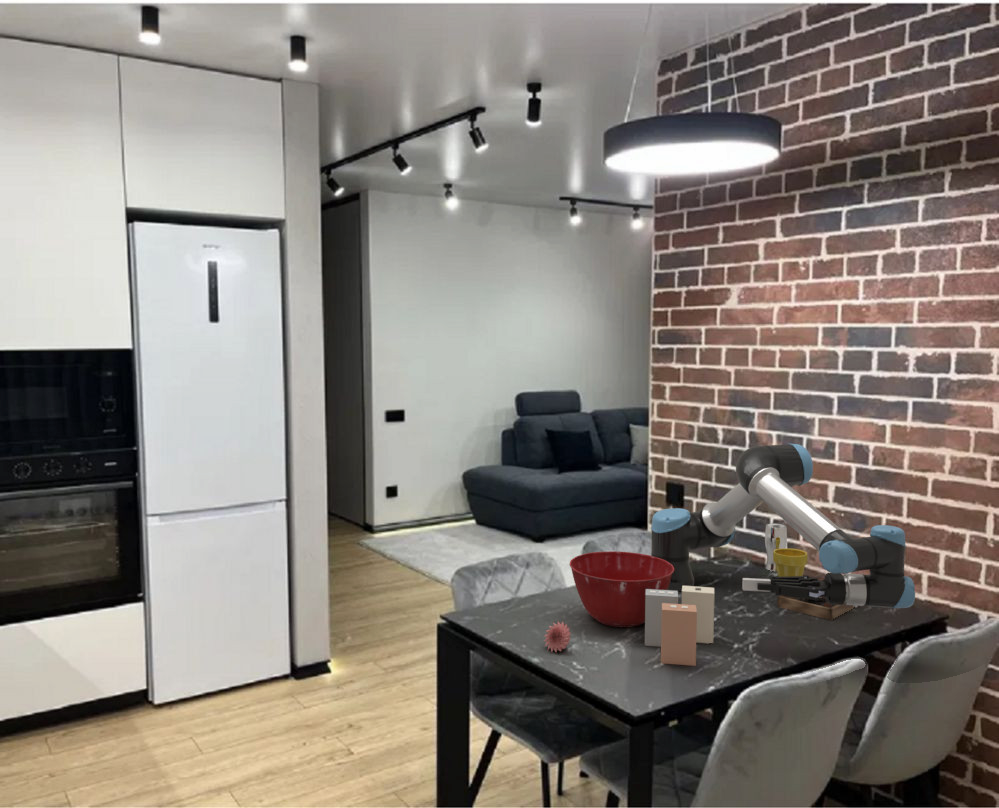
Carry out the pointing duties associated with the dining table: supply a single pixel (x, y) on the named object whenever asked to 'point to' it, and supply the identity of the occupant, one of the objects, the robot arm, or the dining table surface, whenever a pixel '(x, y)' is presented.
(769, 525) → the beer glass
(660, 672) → the dining table surface
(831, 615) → the walnut frame
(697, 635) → the cream block
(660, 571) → the mixing bowl
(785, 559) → the plant pot
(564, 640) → the flower
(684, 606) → the terracotta block
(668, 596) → the grey block
